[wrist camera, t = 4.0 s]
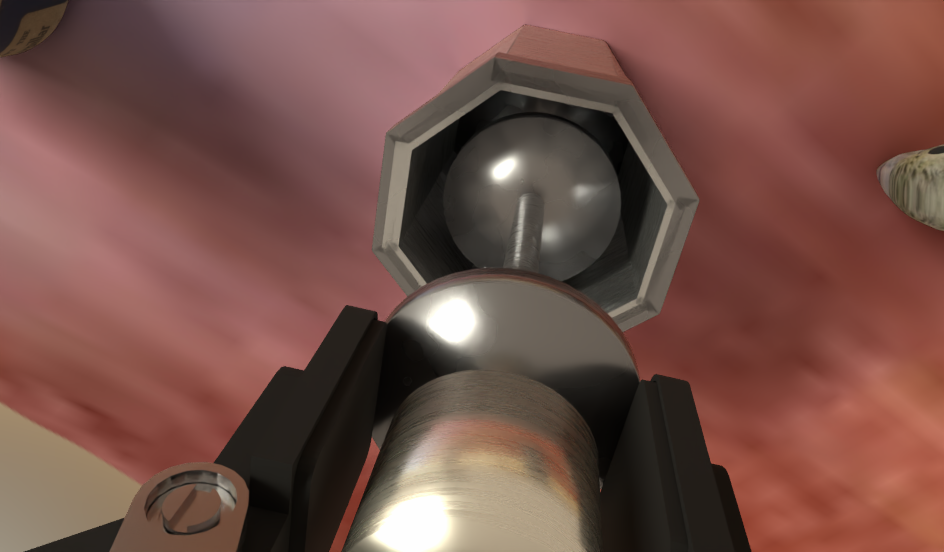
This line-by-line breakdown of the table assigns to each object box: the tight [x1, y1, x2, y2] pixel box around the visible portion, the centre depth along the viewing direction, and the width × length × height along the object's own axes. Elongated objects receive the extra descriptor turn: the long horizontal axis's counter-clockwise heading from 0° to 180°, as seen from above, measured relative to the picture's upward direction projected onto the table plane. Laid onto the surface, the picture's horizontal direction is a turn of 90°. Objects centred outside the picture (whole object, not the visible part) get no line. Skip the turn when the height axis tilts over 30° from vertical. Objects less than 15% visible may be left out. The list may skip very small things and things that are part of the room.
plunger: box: [342, 112, 640, 552], centre depth 15 cm, size 6×6×16 cm
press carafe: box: [372, 24, 699, 332], centre depth 26 cm, size 11×9×12 cm
